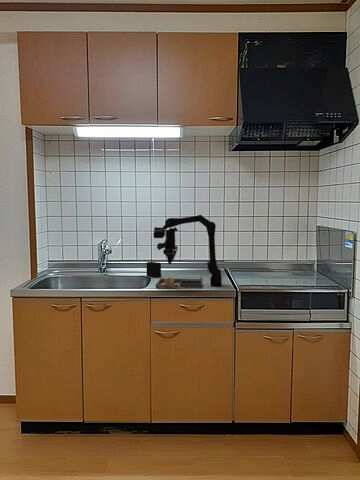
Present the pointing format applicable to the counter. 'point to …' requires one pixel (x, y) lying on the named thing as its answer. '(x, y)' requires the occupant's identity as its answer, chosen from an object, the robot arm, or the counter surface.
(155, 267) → the electronic device
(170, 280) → the beech cube
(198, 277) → the platform
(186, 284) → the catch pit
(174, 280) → the cubby
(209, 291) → the counter surface
